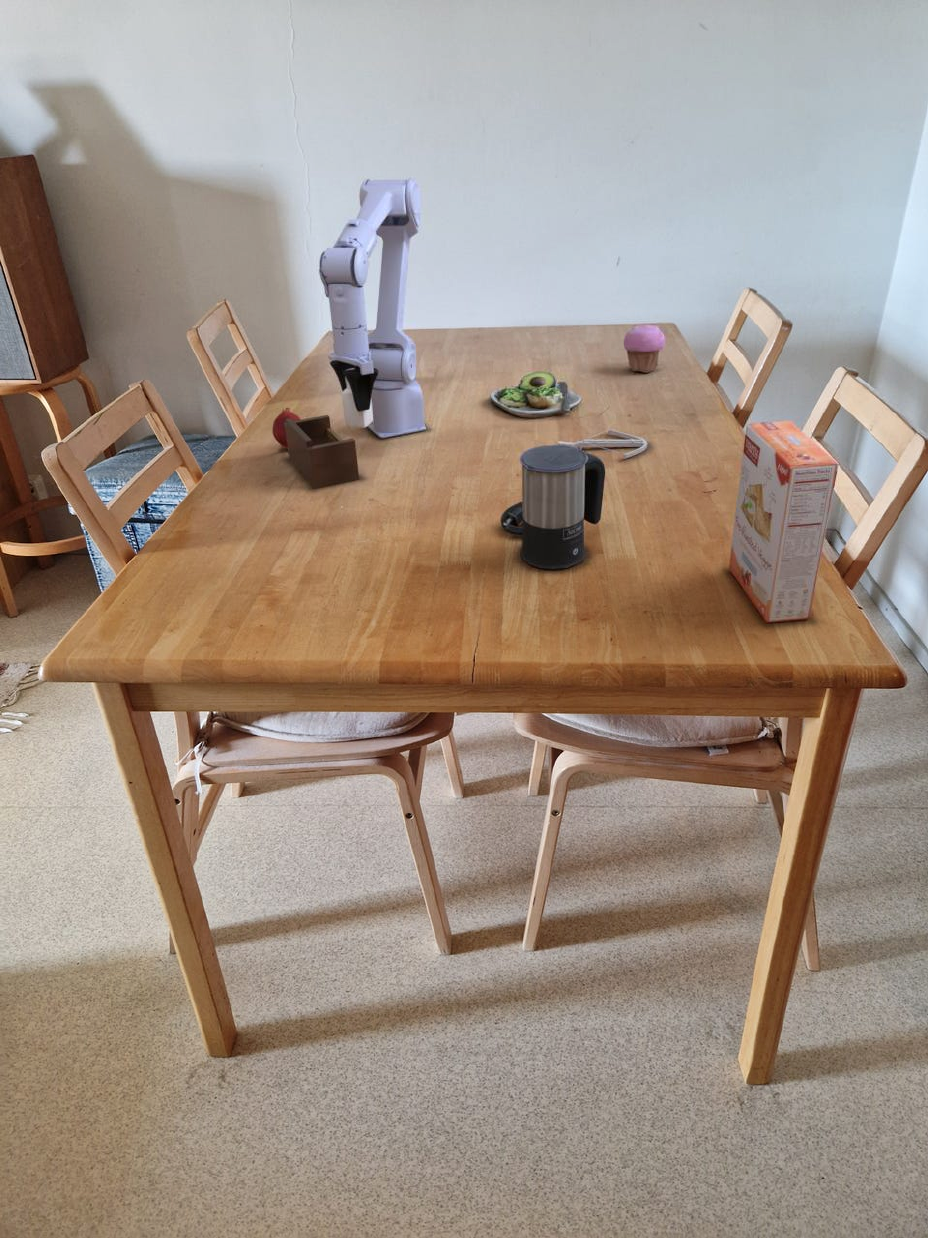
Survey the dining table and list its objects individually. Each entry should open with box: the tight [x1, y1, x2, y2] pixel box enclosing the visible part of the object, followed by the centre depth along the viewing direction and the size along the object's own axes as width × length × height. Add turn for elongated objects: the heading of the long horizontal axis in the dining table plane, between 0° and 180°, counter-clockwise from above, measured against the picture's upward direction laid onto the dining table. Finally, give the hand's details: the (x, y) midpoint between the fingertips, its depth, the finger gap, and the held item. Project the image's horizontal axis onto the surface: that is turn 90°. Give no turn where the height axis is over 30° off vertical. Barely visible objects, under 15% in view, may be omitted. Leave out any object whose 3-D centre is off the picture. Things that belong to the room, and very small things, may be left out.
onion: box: [272, 406, 302, 449], centre depth 164 cm, size 6×6×8 cm
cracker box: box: [728, 420, 839, 624], centre depth 110 cm, size 14×6×21 cm, turn 5°
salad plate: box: [489, 371, 581, 419], centre depth 180 cm, size 19×18×5 cm
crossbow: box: [557, 428, 648, 460], centre depth 160 cm, size 16×13×2 cm
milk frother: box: [500, 444, 606, 570], centre depth 126 cm, size 14×16×15 cm
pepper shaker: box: [341, 368, 373, 429], centre depth 154 cm, size 4×4×10 cm
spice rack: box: [284, 414, 360, 490], centre depth 155 cm, size 8×15×8 cm, turn 25°
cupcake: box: [623, 324, 666, 374], centre depth 196 cm, size 9×9×10 cm
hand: (357, 405), depth 155 cm, fingers closed on pepper shaker, 5 cm apart
